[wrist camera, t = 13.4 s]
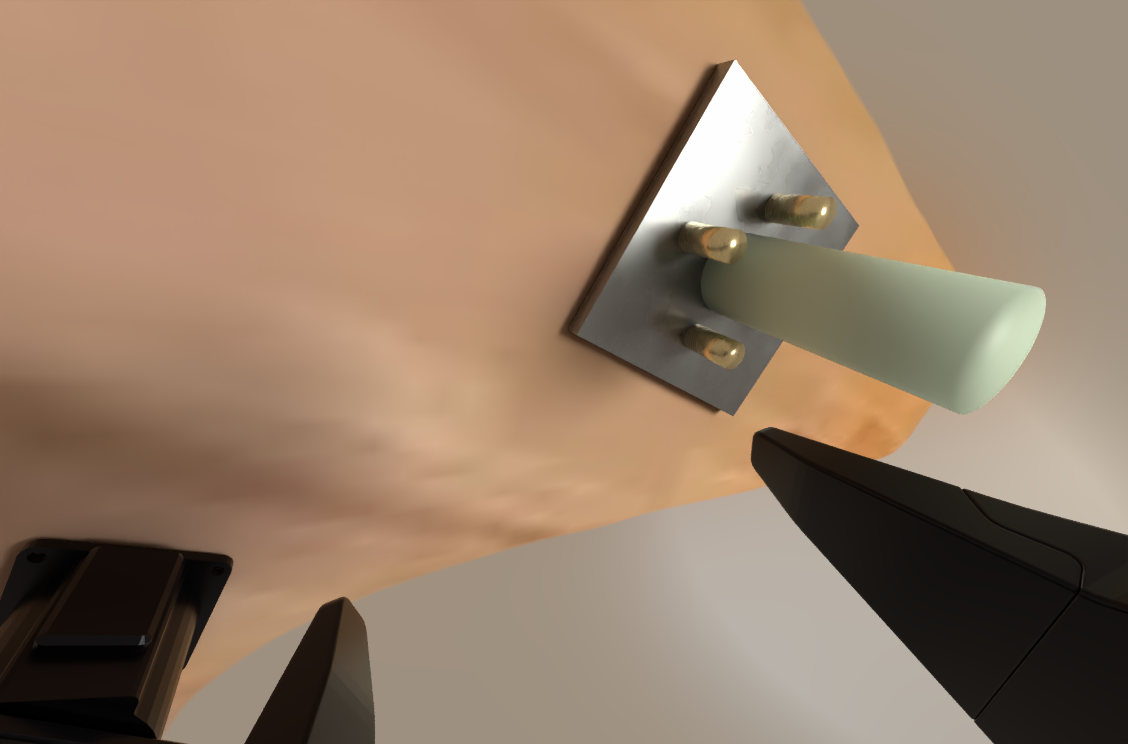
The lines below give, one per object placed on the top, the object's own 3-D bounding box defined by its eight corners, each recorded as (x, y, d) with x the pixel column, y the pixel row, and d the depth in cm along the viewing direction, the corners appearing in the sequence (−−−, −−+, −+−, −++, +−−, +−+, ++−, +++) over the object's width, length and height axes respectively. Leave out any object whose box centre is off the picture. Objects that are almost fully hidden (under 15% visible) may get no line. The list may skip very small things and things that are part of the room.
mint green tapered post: (752, 313, 26) (997, 406, 16) (692, 314, 24) (930, 421, 14) (774, 234, 24) (1064, 287, 15) (712, 229, 23) (998, 285, 13)
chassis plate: (722, 409, 30) (769, 439, 27) (568, 328, 22) (607, 357, 19) (843, 223, 28) (910, 232, 25) (718, 63, 20) (792, 44, 17)
